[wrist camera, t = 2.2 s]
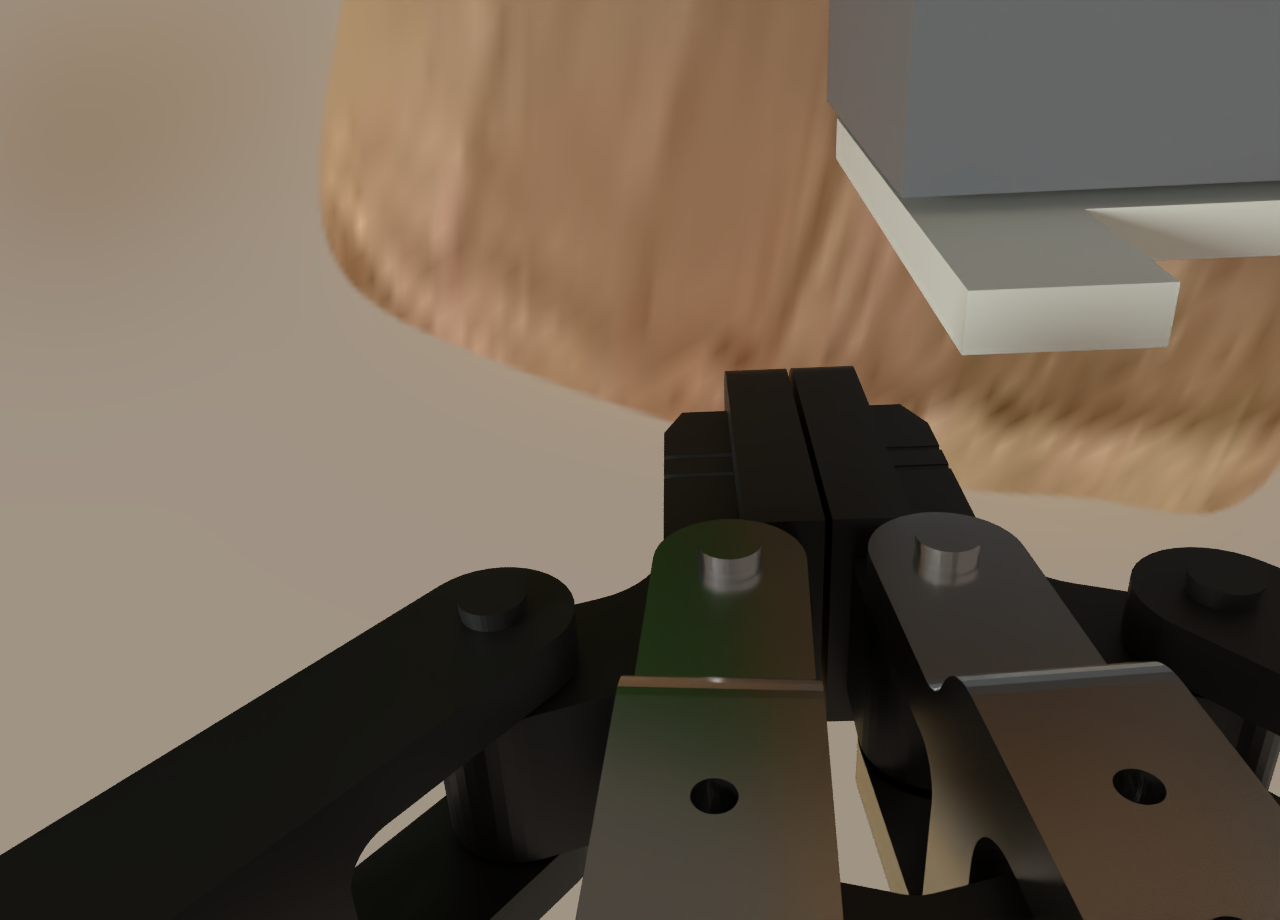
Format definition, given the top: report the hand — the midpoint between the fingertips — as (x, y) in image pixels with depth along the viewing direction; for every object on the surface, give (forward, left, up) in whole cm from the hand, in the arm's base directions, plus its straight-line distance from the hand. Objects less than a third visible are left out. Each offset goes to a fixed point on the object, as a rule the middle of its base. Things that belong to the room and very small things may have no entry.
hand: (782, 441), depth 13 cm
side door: (0, +8, -17) cm, 19 cm away
